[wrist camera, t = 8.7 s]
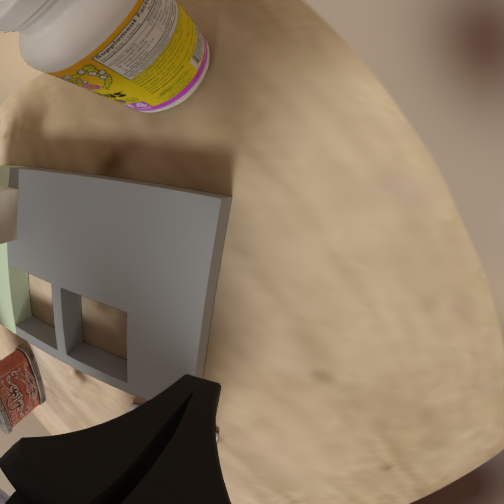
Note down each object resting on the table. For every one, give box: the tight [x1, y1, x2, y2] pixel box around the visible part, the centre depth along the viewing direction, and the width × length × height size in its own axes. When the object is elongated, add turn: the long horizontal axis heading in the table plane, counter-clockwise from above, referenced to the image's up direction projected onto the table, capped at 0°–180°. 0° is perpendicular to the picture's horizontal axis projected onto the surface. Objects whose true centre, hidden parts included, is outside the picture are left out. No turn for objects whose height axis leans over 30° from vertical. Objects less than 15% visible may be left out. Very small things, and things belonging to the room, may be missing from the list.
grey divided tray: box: [0, 165, 232, 401], centre depth 19 cm, size 15×22×4 cm
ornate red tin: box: [0, 345, 46, 434], centre depth 21 cm, size 8×3×10 cm, turn 172°
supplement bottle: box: [0, 0, 210, 113], centre depth 10 cm, size 7×7×13 cm
